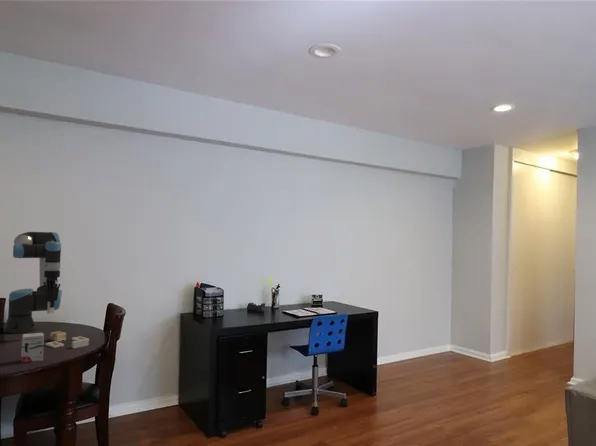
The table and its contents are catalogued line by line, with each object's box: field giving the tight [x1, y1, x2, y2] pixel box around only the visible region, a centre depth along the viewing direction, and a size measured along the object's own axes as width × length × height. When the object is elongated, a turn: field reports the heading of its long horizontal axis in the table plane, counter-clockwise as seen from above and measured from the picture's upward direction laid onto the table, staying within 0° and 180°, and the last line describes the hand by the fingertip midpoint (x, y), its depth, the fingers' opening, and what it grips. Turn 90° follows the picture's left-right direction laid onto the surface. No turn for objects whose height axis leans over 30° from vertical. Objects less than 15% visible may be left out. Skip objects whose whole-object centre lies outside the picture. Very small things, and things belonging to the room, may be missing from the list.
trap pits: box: [45, 335, 89, 349], centre depth 237 cm, size 8×19×1 cm, turn 148°
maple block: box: [49, 330, 67, 342], centre depth 242 cm, size 6×5×4 cm
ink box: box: [20, 332, 45, 363], centre depth 206 cm, size 8×5×12 cm, turn 123°
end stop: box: [71, 338, 90, 349], centre depth 231 cm, size 2×8×3 cm, turn 148°
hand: (50, 313), depth 246 cm, fingers closed
